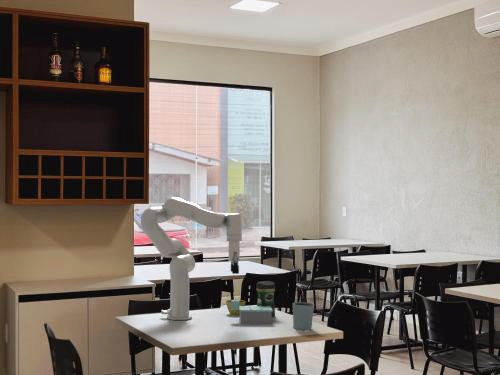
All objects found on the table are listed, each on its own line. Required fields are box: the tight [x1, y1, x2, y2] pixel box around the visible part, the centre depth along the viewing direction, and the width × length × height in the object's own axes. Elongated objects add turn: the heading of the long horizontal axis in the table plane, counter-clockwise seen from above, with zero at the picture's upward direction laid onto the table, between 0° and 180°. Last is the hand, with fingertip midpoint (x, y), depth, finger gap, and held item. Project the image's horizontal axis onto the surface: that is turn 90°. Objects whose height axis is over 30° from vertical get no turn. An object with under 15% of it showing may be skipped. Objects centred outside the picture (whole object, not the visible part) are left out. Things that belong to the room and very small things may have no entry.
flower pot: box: [225, 299, 246, 316], centre depth 366 cm, size 10×10×7 cm
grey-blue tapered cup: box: [292, 301, 315, 332], centre depth 330 cm, size 10×10×12 cm
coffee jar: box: [255, 280, 276, 318], centre depth 360 cm, size 10×8×19 cm
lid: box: [230, 299, 273, 312], centre depth 343 cm, size 20×11×5 cm, turn 94°
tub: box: [239, 312, 273, 325], centre depth 343 cm, size 15×10×6 cm, turn 94°
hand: (234, 272), depth 345 cm, fingers open, 9 cm apart
